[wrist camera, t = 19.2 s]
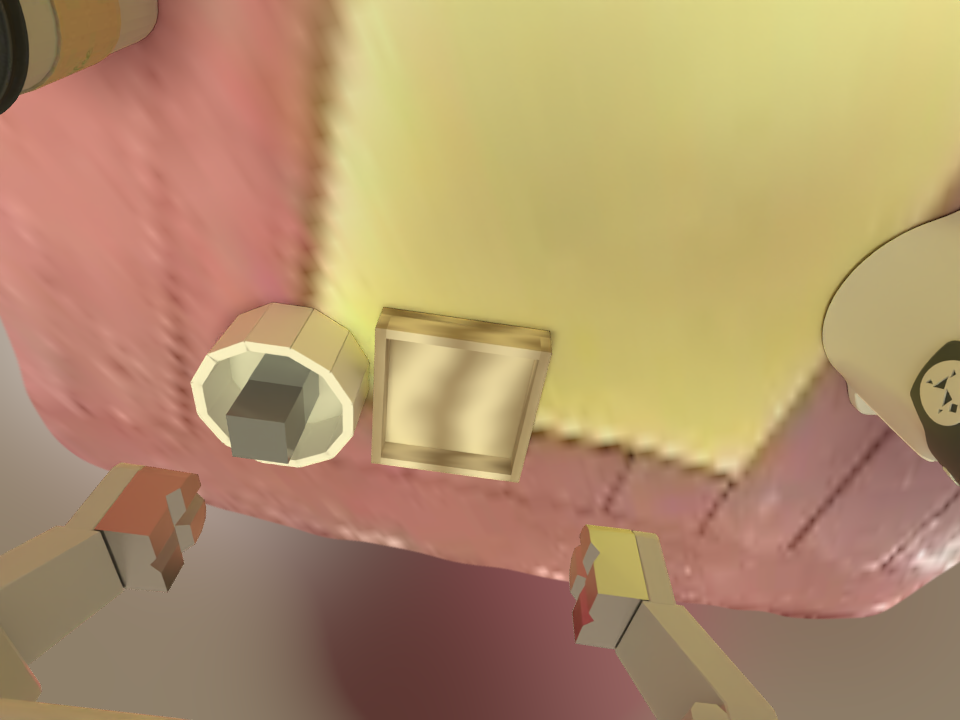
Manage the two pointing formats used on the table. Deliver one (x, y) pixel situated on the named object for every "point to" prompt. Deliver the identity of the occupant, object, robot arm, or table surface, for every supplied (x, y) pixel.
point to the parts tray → (455, 393)
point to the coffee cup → (63, 38)
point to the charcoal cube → (266, 421)
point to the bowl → (309, 345)
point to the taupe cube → (289, 377)
